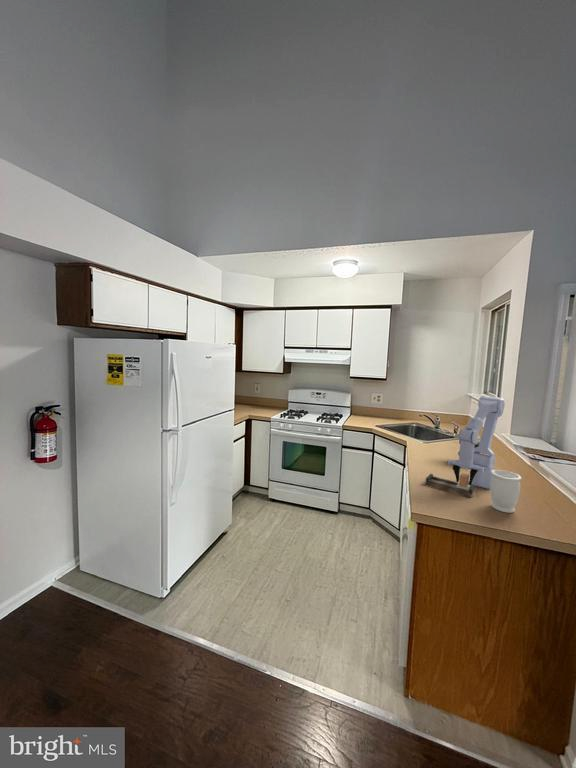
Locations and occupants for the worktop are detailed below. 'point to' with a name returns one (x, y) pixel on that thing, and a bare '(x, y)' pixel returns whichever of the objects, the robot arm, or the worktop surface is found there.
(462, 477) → the block
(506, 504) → the jar
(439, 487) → the rail board
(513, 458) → the worktop surface
